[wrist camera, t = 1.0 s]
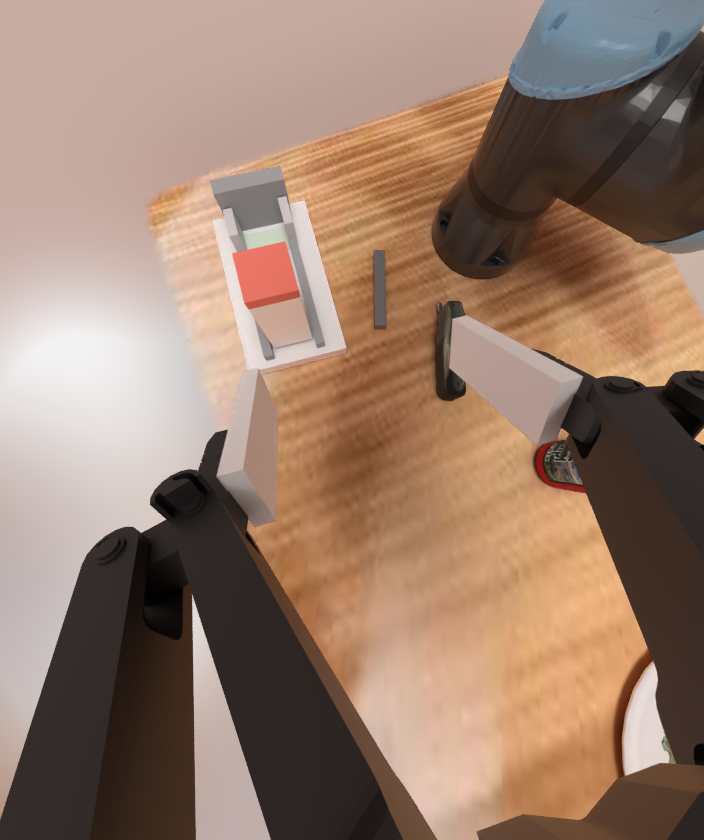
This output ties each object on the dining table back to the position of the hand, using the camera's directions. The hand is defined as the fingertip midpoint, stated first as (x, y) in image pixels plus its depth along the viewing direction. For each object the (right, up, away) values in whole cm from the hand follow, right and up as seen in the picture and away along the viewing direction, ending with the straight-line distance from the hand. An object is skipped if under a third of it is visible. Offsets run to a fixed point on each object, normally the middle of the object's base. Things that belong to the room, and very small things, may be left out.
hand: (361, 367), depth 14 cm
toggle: (-9, +11, +24) cm, 28 cm away
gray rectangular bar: (+4, +17, +28) cm, 33 cm away
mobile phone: (+13, +8, +27) cm, 31 cm away
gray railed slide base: (-11, +17, +27) cm, 34 cm away
